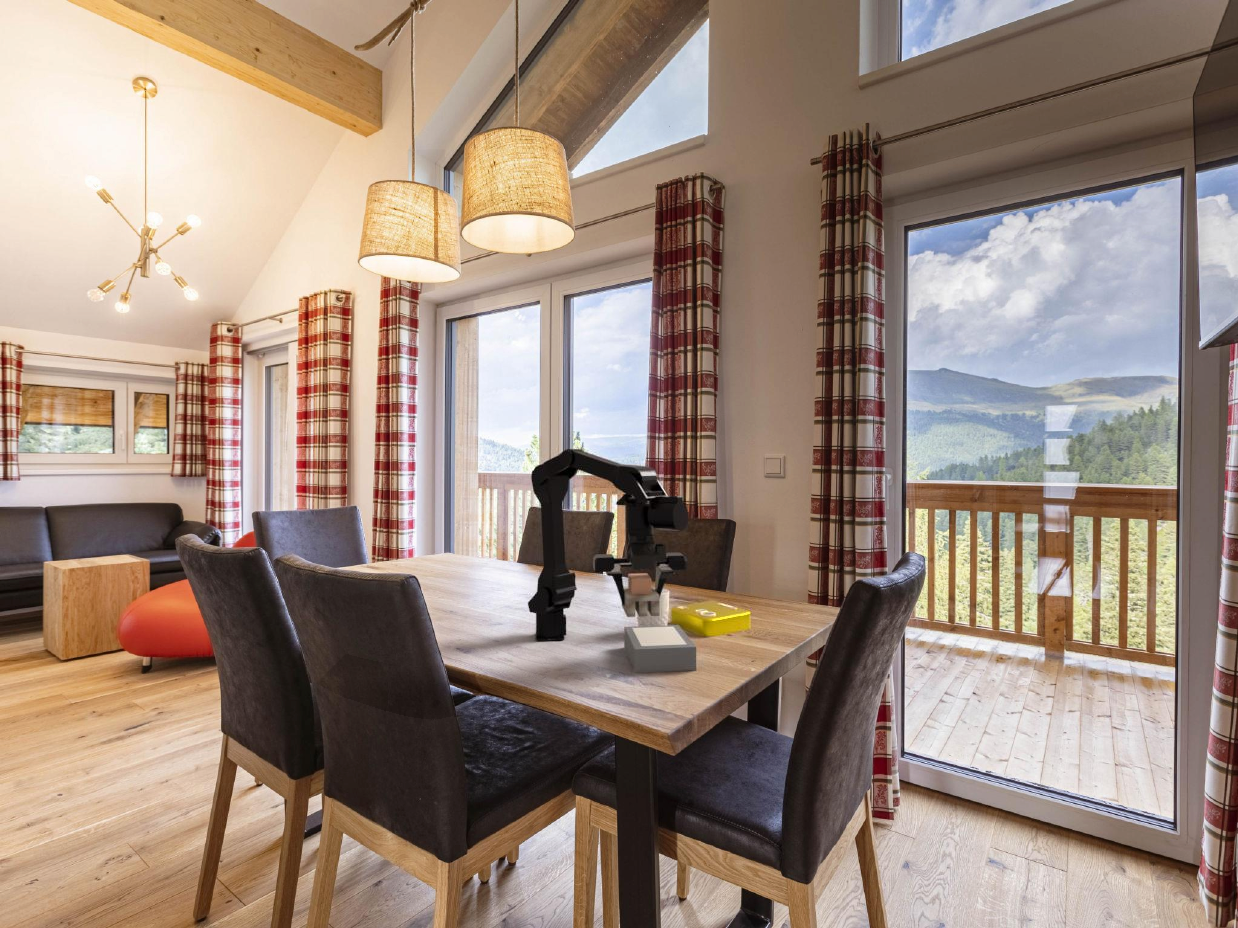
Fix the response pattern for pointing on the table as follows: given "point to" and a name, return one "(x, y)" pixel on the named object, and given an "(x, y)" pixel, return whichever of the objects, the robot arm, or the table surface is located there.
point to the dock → (659, 648)
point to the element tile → (711, 618)
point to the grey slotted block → (641, 603)
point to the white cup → (664, 612)
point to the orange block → (640, 583)
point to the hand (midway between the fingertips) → (639, 604)
